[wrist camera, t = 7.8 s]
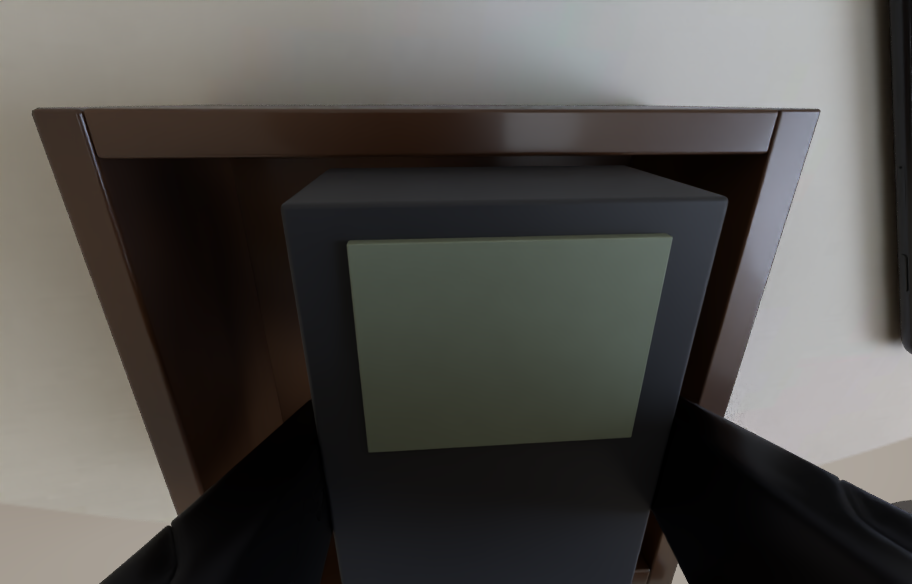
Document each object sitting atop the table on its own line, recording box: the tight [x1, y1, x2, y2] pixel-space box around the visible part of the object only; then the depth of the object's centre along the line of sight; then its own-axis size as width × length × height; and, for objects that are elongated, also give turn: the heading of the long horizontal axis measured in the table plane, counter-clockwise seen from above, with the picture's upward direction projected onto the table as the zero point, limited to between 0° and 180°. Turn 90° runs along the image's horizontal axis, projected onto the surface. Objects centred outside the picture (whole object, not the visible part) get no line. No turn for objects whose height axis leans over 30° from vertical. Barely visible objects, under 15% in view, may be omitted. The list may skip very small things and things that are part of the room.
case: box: [32, 105, 820, 584], centre depth 13 cm, size 14×14×6 cm
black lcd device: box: [281, 165, 728, 584], centre depth 8 cm, size 8×6×3 cm, turn 0°
